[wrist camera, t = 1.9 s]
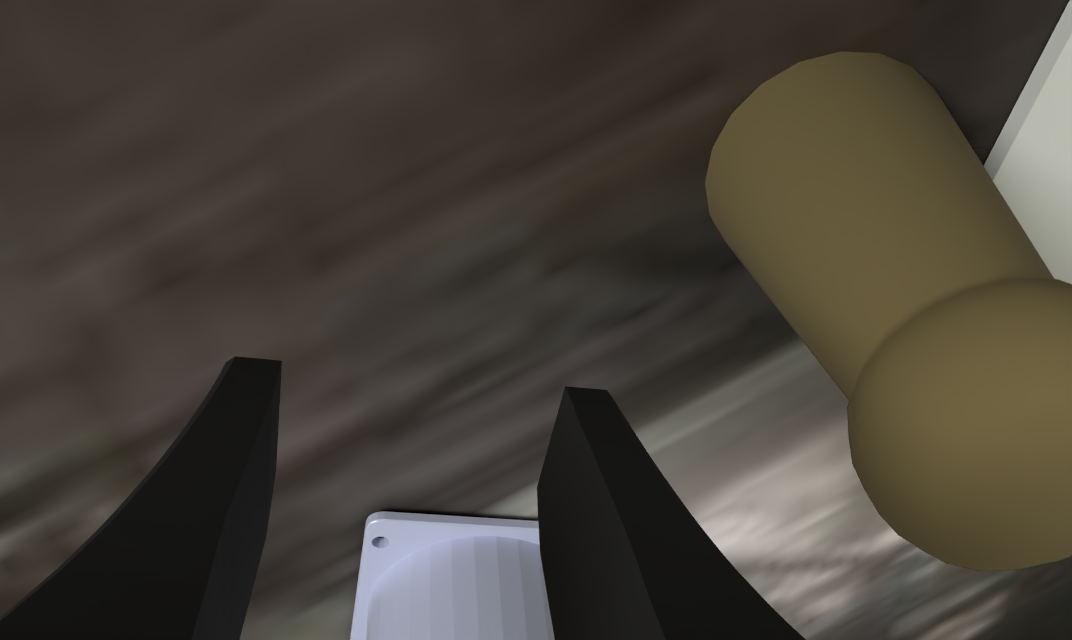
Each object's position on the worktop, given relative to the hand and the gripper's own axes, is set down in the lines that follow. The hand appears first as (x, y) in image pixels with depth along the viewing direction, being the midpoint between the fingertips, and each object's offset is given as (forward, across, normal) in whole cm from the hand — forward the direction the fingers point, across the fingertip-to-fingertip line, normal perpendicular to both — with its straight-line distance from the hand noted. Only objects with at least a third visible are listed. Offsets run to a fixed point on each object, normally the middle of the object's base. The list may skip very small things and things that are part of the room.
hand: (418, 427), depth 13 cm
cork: (+11, -10, 0) cm, 15 cm away
